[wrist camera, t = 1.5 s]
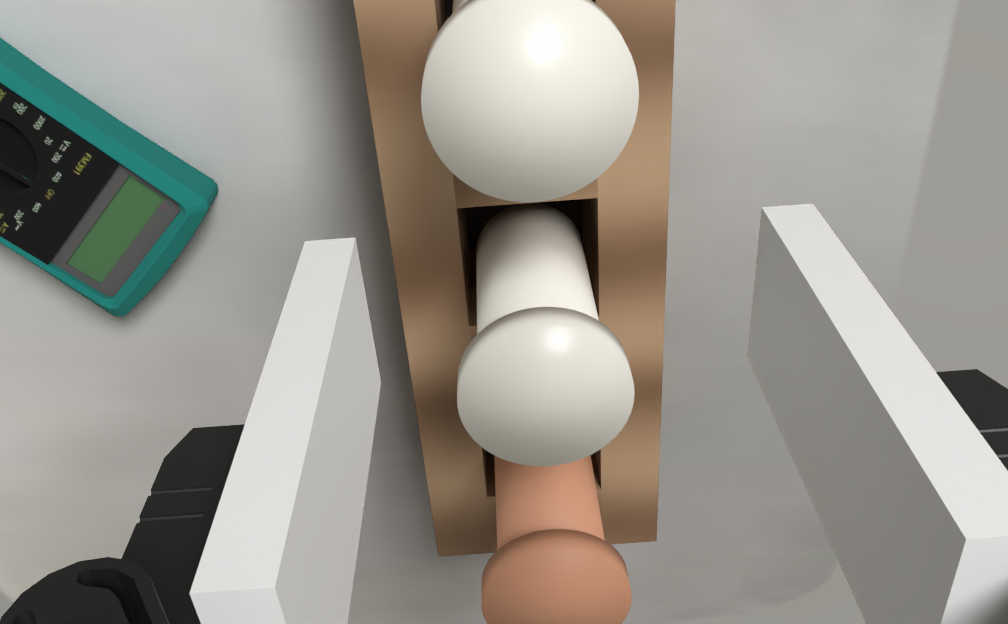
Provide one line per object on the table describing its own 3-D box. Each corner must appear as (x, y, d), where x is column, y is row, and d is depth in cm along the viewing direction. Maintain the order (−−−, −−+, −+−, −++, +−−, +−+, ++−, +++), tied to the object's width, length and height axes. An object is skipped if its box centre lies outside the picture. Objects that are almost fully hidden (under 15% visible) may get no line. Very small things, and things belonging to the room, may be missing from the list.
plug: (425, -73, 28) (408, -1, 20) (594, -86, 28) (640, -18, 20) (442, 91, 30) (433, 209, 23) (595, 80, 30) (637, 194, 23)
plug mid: (453, 193, 33) (448, 333, 25) (597, 183, 32) (635, 319, 25) (466, 314, 35) (465, 472, 28) (598, 304, 35) (633, 460, 28)
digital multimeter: (-126, -66, 32) (-176, -49, 30) (230, 183, 38) (213, 214, 35) (-199, 85, 35) (-251, 111, 33) (142, 295, 41) (120, 331, 38)
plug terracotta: (474, 390, 37) (475, 557, 30) (599, 381, 37) (632, 546, 30) (484, 482, 40) (487, 656, 33) (600, 474, 40) (630, 646, 33)
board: (348, -203, 30) (323, -191, 25) (647, -227, 30) (683, -219, 25) (442, 466, 46) (438, 556, 41) (636, 453, 46) (656, 541, 41)
